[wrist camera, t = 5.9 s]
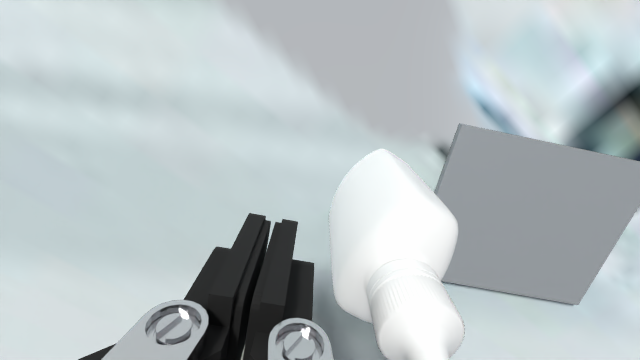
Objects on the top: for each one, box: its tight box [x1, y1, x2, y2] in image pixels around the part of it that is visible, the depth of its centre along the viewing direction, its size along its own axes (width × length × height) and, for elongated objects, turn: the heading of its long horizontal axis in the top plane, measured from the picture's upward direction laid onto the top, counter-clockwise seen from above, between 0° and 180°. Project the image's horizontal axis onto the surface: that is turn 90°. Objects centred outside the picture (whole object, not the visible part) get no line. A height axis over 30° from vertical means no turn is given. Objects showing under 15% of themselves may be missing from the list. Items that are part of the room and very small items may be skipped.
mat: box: [434, 123, 640, 305], centre depth 19 cm, size 12×10×1 cm
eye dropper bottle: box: [329, 149, 465, 360], centre depth 13 cm, size 4×6×12 cm
